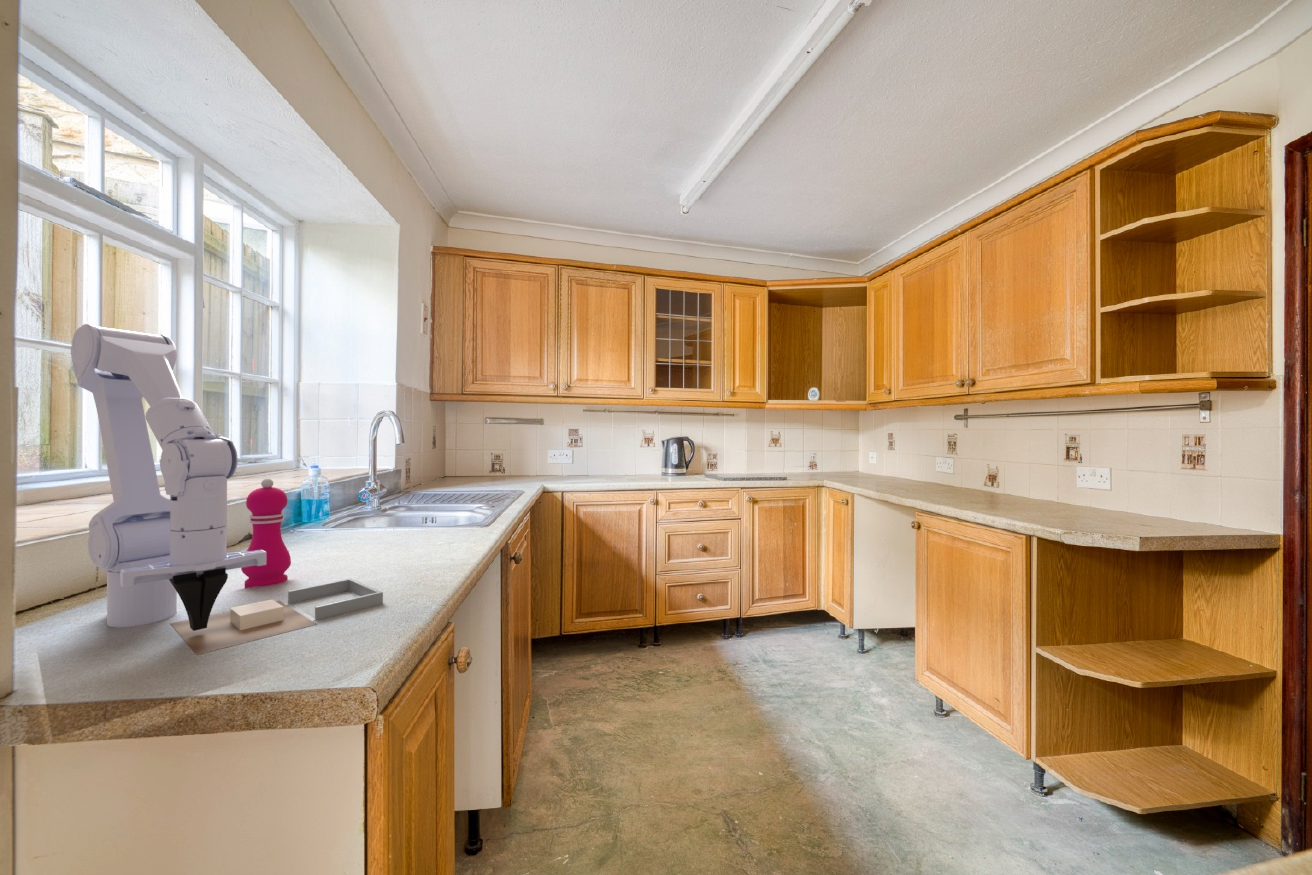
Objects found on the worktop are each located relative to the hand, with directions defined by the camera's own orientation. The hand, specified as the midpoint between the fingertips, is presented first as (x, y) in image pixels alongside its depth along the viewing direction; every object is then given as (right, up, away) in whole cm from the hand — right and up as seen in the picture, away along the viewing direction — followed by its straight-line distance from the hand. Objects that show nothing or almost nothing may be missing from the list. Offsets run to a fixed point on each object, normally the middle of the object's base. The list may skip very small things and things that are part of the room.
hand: (198, 627), depth 69 cm
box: (+10, -2, +13) cm, 17 cm away
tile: (+4, -1, +5) cm, 6 cm away
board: (+3, -2, +4) cm, 5 cm away
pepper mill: (-9, -2, +24) cm, 26 cm away
